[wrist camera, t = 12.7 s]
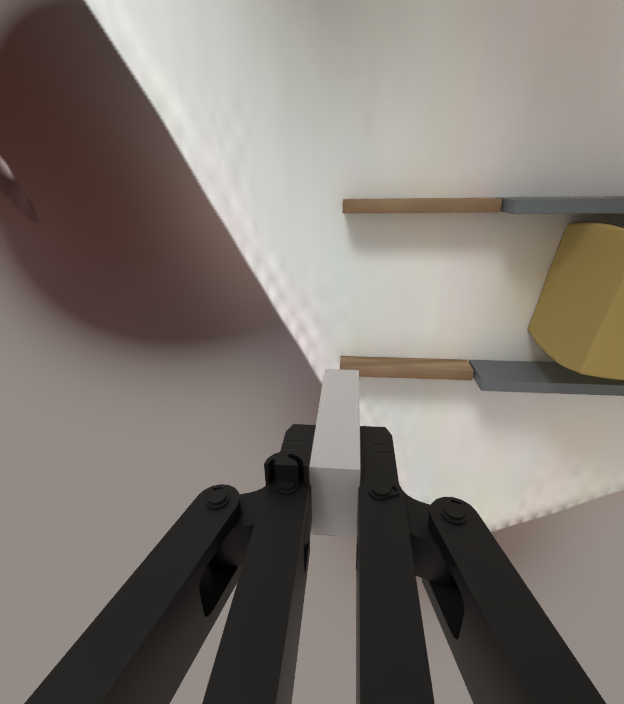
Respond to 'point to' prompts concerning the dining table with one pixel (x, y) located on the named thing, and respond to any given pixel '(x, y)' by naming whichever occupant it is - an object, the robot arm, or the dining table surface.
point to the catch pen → (547, 373)
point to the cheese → (584, 302)
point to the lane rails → (415, 365)
